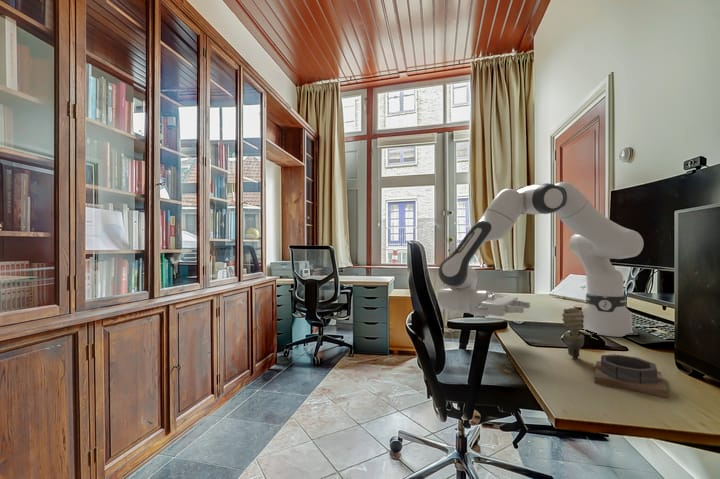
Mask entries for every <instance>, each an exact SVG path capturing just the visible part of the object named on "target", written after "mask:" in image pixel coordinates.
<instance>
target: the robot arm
mask: <svg viewBox="0 0 720 479" xmlns="http://www.w3.org/2000/svg"><path fill="white" fill-rule="evenodd" d="M552 213H554V214H555V216H556V217H557V218H558V219H560V221H561V222H562V223H563V224H564V226H565V227H566V228H567V229H568V230H569V231H570V232H572V233H574V234H573V235H572V236H571V237H570V239H569V249H570V252H572V253H573V254H574V255H575V256H577V258H578V259H579V261H580V263H581V264H582V266H583V269H584V273H585V276H586V277H585V278H586V288H587V290H586V291H587V292H586V294H585V301H586V304H585V305H584V306H583V307H581V311H582V312H583V315H584V319H583V320H584V323H583V325H584V327H583V329H588V330H591V331H593V332H595V333H597V334H596V335H599V336H606V337H618V338H620V337H623V335H624V334H628V333H633V331H632V328H633V318H632V311H630V310H629V309H628V308H627V307H626V305H627V299H626V296H625V290H624V285H625V284H624V275H623V273H622V272H621V271H619V270H618V269H616V268H615V267H614V266H613V265H612V262H611V261H610V260H611V259H615V260H622V259H629V258H634V257H637V256H638V255H640V254H641V252H642V251H643V248H644V239H643V237H642V235H641V234H640V233H639V232H638V231H635V230H634V229H630V228H626V227H624V226H622V225H620V224H618V223H617V222H614V221H612V220H611V219H609V218H608V217H606V216H605V215H603V214H602V213H601V212H600V211H598V209H597V208H596V206H594V205H593V204H592V203H591V201H590V200H589V199H588V198H587V197H586V196H585V195H584V194H583V193H582V192H581V191H580V190H579V189H578V188H577V187H576V186H574V185H573V184H571V183H570V182H567V181H558V182H556V183H549V182H548V183H537V184H531V185H525V186H521V187H519V188H517V189H513V188H504V189H502V190H501V191H499V193H497V194H496V196H495V197H494V198H493V200H491V202H490V203H489V205H488V206H487V208H486V209H485V211H484V212H483V214H482V215H481V217H480V219H479V220H478V221H477V222H476V223H475V224H474V225H473V226H472V227H471V228H470V229H469V231H468V232H467V233H466V235H465V236H464V238H463V239H462V240H461V241H460V243H459V244H458V245H457V247H456V248H455V249H454V250H453V252H452V253H451V254H450V255H448V256H447V257H446V258H445V259H443V260H442V261H441V263H440V265H439V268H438V276H439V278H440V281H441V282H442V283H443V284H444V285H443V286H442V287H441V288H439V290H438V291H437V302H438V304H439V306H440V307H441V308H442V309H443V310H445V311H448V312H453V313H456V314H457V313H459V314H464V313H465V314H470V315H474V316H481V317H489V316H490V315H491V316H497V317H503V316H505V315H507V314H514V313H515V314H517V313H519V314H523V313H524V312H525V309H530V308H531V302H528V301H523V300H520V299H519V297H517V296H515V295H510V294H502V293H495V291H491V290H490V291H489V290H484V289H483V290H482V289H477V286H478V282H479V275H478V272H477V271H476V270H475V268H473V267H471V266H470V262H471V260H472V259H473V258H474V256H475V255H476V254H477V253H478V251H479V249H480V248H481V247H482V245H484V244H485V243H486V242H489V241H499V240H502V239H504V238H505V237H506V236H507V235H508V234H509V233H510V231H511V230H512V229H513V227H514V225H515V223H516V222H517V221H518V218H519V217H520V216H521V215H524V214H525V215H533V216H534V215H541V214H544V215H548V214H552ZM623 338H624V337H623Z"/></svg>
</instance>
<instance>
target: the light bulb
mask: <svg viewBox="0 0 720 479" xmlns="http://www.w3.org/2000/svg"><path fill="white" fill-rule="evenodd" d="M561 315H562V319H561V320H562V321H563V323H562V325H563V327H567V328H568V329H569V331H565V332H563V334H562V336H563V337H562V338H563V343H564V345H565V346H566V348H567V350H568V355H569V356H571V357H572V358H573V359H578V358H579V357H580V350H581V348H582V347H583V346H584V345H585V335H583V334H582V333H579V331H581V329H583V327H584V325H583V323H584V320H583V319H584V315H583V312H582V309H578V308H576V307H571V308H563V312H562V314H561Z"/></svg>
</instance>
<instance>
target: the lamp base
mask: <svg viewBox="0 0 720 479" xmlns="http://www.w3.org/2000/svg"><path fill="white" fill-rule="evenodd" d="M600 356H601V357H600V360H599V361H598V360H596V363H595V371H594V384H599V385H602V386H603V385H605V386H608V387H613V388H618V389H623V390H627V391H628V390H629V391H634V392H639V393H642V394H648V395H652V396H657V397H661V398H667V399H668V394H669V393H668V389H667V386H666V383H665V381H664V380H665V379H664V377H663V374H662V371H659V370H658V369H657V365H656V363H653V362H651V361H648V360H645V359H642V358H639V357H636V356H635V357H634V356H628V355H624V354H623V355H622V354H614V353H613V354H603V355H602V354H601V355H600Z"/></svg>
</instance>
